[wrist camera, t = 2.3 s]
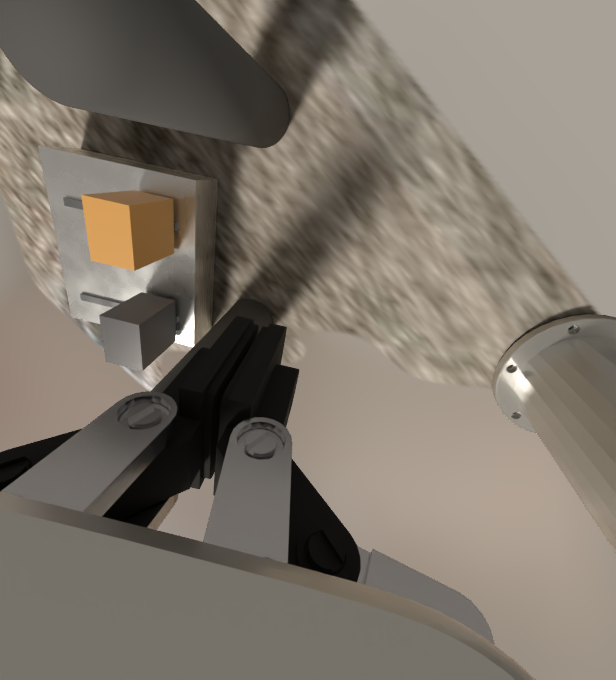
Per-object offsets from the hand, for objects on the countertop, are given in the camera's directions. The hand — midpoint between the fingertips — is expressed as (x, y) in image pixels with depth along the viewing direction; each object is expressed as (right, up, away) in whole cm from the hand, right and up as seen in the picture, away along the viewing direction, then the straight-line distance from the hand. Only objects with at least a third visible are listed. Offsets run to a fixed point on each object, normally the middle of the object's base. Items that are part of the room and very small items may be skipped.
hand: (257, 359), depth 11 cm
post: (-2, +17, +13) cm, 22 cm away
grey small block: (-11, +3, +18) cm, 21 cm away
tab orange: (-10, +10, +14) cm, 19 cm away
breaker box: (-13, +9, +19) cm, 25 cm away
